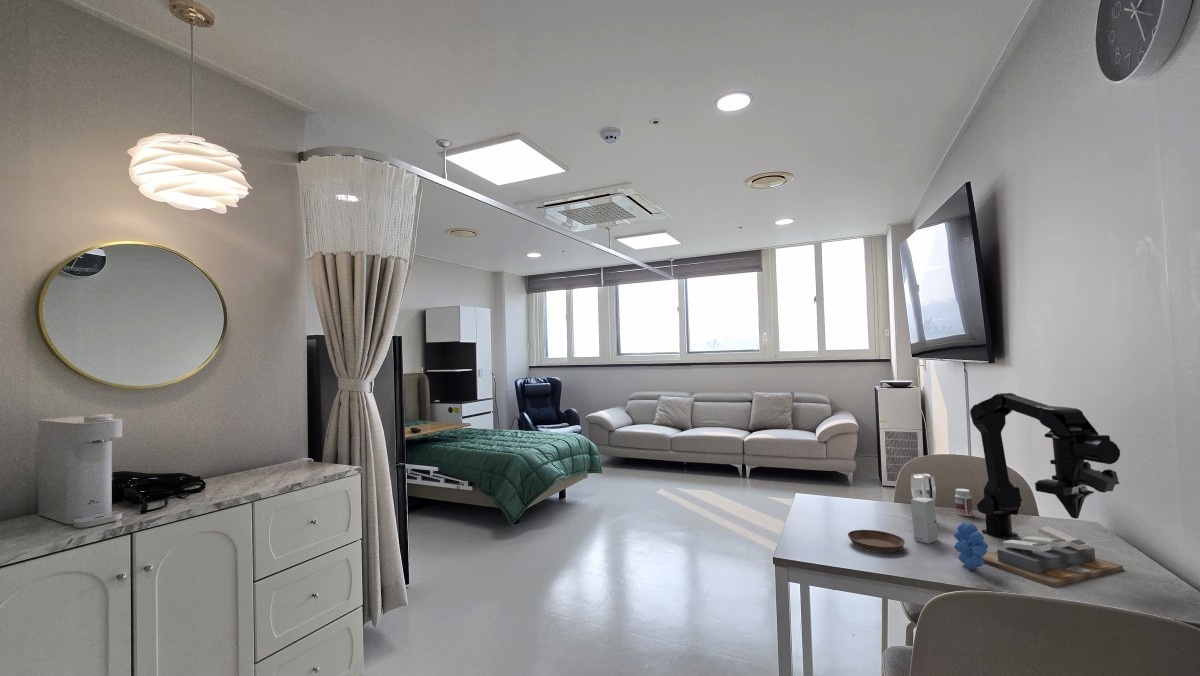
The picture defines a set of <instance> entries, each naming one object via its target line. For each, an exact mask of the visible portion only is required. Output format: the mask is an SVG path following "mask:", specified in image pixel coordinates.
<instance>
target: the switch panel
mask: <svg viewBox="0 0 1200 676" xmlns="http://www.w3.org/2000/svg"><path fill="white" fill-rule="evenodd" d="M1049 538H1050V537H1049ZM1050 539H1052V538H1050ZM1051 549H1052V550H1048V551H1043V552H1039V551H1032V550H1025V549H1018V548H1011V547H1000V548H997V549H996V551H993V552H988V553H987V552H986V554H985V555H984V556H982V558H983V559H984V560H985V562H984V564H986V565H990V566H992V565H993V566H992V567H994V568H998V569H1001V570H1003V571H1007V572H1009V573H1013V574H1014V575H1018V576H1022V577H1023V576H1024V578H1026V577H1027V579H1029V578H1030V580H1032V579H1033V581H1035V580H1036V581H1035V582H1038V581H1039V582H1038V583H1041V582H1042V583H1041V584H1043V585H1046V584H1047V586H1049V585H1050V587H1052V586H1053V588H1055V587H1059V586H1063V584H1064V585H1067V583H1068V584H1071V583H1076V582H1079V581H1083V580H1088V579H1091V578H1094V577H1095V578H1096V577H1101V576H1103V575H1107V574H1112V573H1115V572H1120V571H1124V570H1123V569H1124V565H1123V564H1119V563H1115V562H1112V561H1108V560H1105V559H1101V558H1098V557H1096V552H1095V548H1094V547H1090V546H1088V548H1087V549H1082V550H1076V549H1074V548H1072V547H1070V546H1066V547H1062V548H1059V547H1051Z"/></svg>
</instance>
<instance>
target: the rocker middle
mask: <svg viewBox="0 0 1200 676" xmlns="http://www.w3.org/2000/svg"><path fill="white" fill-rule="evenodd" d="M1020 541H1026V542H1034V543H1045V544H1049V545H1050V546H1051V547H1059V548H1062V547H1066V546H1070V543H1069V541H1067V540H1063V539H1050V537H1040V536H1032V535H1030V536H1023V537H1021V538H1020Z"/></svg>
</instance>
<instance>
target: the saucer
mask: <svg viewBox="0 0 1200 676" xmlns="http://www.w3.org/2000/svg"><path fill="white" fill-rule="evenodd" d="M847 537H848V539H849V540H850V541H851V542H852V543H853V544H854V545H855V546H856V547H858V548H859V547H860V548H859V549H861V548H862V549H861V550H864V549H865V550H864V551H867V550H869V551H868V552H872V551H873V553H878V552H880V554H887V553H888V554H889V553H890V552H891V553H895V552H898V551H899V550H900V549H902V547H904V545H905V544H906V541H905V539H904V538H903V537H900V536H898V535H896V534H893V533H890V532H886V531H881V530H874V529H857V530H851V531H849V532H848V533H847Z"/></svg>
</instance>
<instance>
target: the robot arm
mask: <svg viewBox="0 0 1200 676" xmlns="http://www.w3.org/2000/svg"><path fill="white" fill-rule="evenodd" d="M1012 411H1013V412H1016V413H1019V414H1022V415H1024V416H1028V417H1029V418H1033V419H1035V420H1036V421H1037V420H1038V421H1039V422H1040V423H1041V425H1042V426H1043V427H1045V428H1048V429H1049V431H1048V432H1046V433H1045V434H1044V436H1043V437H1045V438H1049V439H1051V440H1052V449H1053V459H1050V460H1049V461H1050V465H1054V470H1055V474H1054V475H1051V479H1049V478H1048V479H1047V478H1046V479H1045V478H1044V479H1040V480H1039V479H1038V480H1037V481H1036V482H1035V483H1034V488H1035V489H1034V490H1035V491H1036V492H1039V493H1045V494H1049V495H1055V496H1056V498H1057V499H1058V500H1059V501H1060V503H1061V505H1063V508H1064V509H1065V510H1066V512H1067V513H1068V515H1069V516H1070V518H1072V519H1079V518H1080V513H1081V511H1082V508H1083V504H1084V501H1085V500H1086V498H1088V497H1089V496H1091V495H1092V494H1094V493H1095V491H1097V492H1100V493H1107V492H1113V491H1114V489H1115V486H1116V485H1119V484H1120V481H1119V477H1118V473H1117V472H1116V471H1115V470H1112V469H1110V468H1109V469H1104V470H1102V471H1101V470H1095V469H1093V468H1092V466H1091V463H1090V462H1095V463H1100V464H1106V465H1112V464H1115V463H1116V462H1117V461H1118V460H1119V459H1120V456H1121V449H1120V448H1119V446H1118V445H1117V444H1116V443H1115V442H1114V441H1112V440H1111V436H1110V435H1107V434H1099V433H1098V432H1097V430H1096V428H1095V427H1094V426H1093V425H1092V424H1091V423H1090V421H1089V420H1088V418H1087V417H1086V416H1085V415H1084V412H1083V411H1082V410H1080V409H1078V408H1073V407H1066V406H1056V405H1048V404H1045V403H1041V402H1038V401H1035V400H1032V399H1028V398H1026V397H1023V396H1020V395H1016V394H1015V393H1013V392H1007V393H1006V392H1003V393H1002V392H1000V393H996V394H994V395H992V396H991V397H990V398H988V399H985V400H982V401H980V402H978V403H977V404H974V405H972V407H971V408H970V410H969V413H970V417H971V421H972V425H973V426H974V427H975V428H976V429H977V430H978V431H979V433H980V436H981V443H982V447H983V454H984V461H985V466H986V473H987V477H988V478H987V480H988V481H987V482H986V483H985V484H986V485H985V486H984V489H983V498H982V499H981V500H980V501H979V502H978V503H977V504H976V508H977V510H978V512H979V513H981V514H984V515H985V527H986V528H985V529H982V530H981V533H984V534H987V533H988V534H987V535H992V536H995V537H997V538H1001V539H1006V538H1012V536H1013V537H1017V536H1016V535H1018V536H1019V534H1018V533H1017V532H1013V528H1012V527H1013V526H1012V525H1013V524H1012V515H1016V516H1018V515H1019V510H1020V508H1021V505H1022V504H1021V503H1022V502H1023V499H1022V497H1021V490H1020V488H1019V486H1015V485H1014V484H1013V483H1012V482H1011V481H1010V478H1009V471H1008V466H1007V458H1006V453H1005V449H1004V442H1003V436H1002V431H1003V429H1004V427H1005V426H1006V422H1007V421H1006V416H1008V415H1009V414H1011V413H1012ZM1087 486H1088V487H1090V488H1092V489H1094V490H1095V491H1092V490H1088V487H1087Z"/></svg>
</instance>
